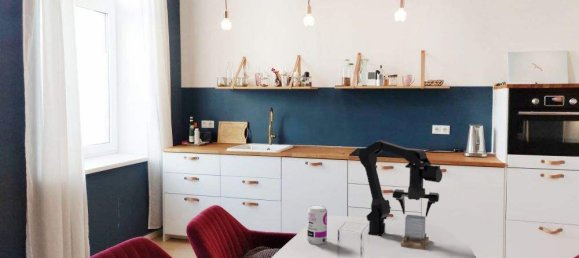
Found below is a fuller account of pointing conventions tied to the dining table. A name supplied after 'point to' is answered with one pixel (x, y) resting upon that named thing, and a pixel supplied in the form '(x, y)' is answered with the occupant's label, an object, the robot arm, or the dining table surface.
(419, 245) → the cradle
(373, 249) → the dining table surface
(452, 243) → the dining table surface
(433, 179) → the robot arm
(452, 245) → the dining table surface
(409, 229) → the medicine box
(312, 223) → the supplement can
